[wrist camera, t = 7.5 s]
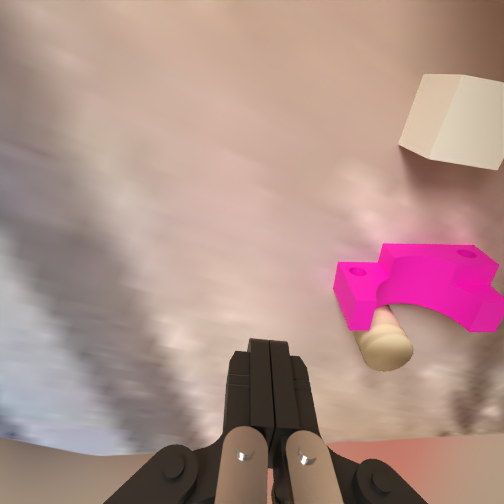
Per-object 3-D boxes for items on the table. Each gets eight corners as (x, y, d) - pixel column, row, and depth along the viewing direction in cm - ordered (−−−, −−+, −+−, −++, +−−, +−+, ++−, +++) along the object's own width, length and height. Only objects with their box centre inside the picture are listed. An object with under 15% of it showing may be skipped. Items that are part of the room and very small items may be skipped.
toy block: (472, 244, 37) (521, 281, 30) (454, 289, 40) (495, 332, 33) (341, 241, 36) (361, 279, 30) (332, 287, 39) (349, 330, 33)
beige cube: (423, 74, 28) (463, 74, 23) (486, 86, 29) (539, 89, 24) (397, 144, 31) (428, 158, 26) (456, 154, 32) (497, 170, 26)
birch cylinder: (351, 286, 39) (374, 333, 32) (390, 292, 40) (421, 339, 33) (338, 318, 42) (357, 368, 35) (375, 323, 42) (401, 373, 35)
